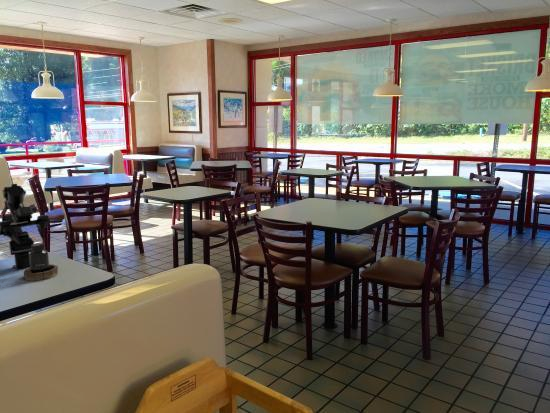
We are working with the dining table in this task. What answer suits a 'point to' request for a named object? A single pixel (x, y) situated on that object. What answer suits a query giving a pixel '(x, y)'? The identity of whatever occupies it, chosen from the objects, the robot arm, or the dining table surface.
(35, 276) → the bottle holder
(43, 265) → the supplement bottle
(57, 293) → the dining table surface
